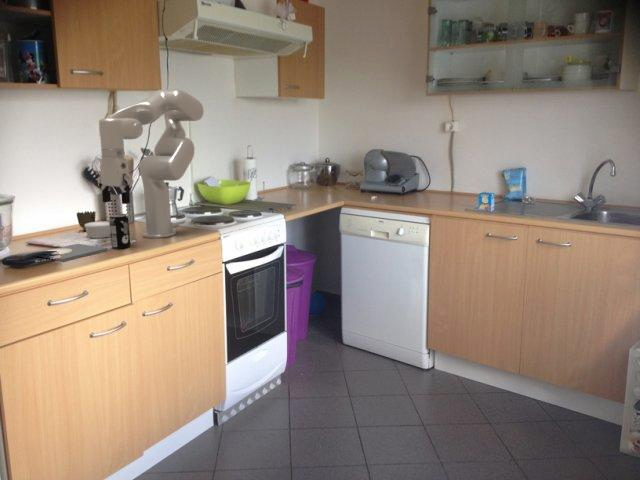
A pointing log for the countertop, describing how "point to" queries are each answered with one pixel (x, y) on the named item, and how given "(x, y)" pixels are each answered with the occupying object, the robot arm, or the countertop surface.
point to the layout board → (77, 251)
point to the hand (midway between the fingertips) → (116, 202)
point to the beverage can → (119, 231)
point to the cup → (85, 218)
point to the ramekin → (98, 229)
